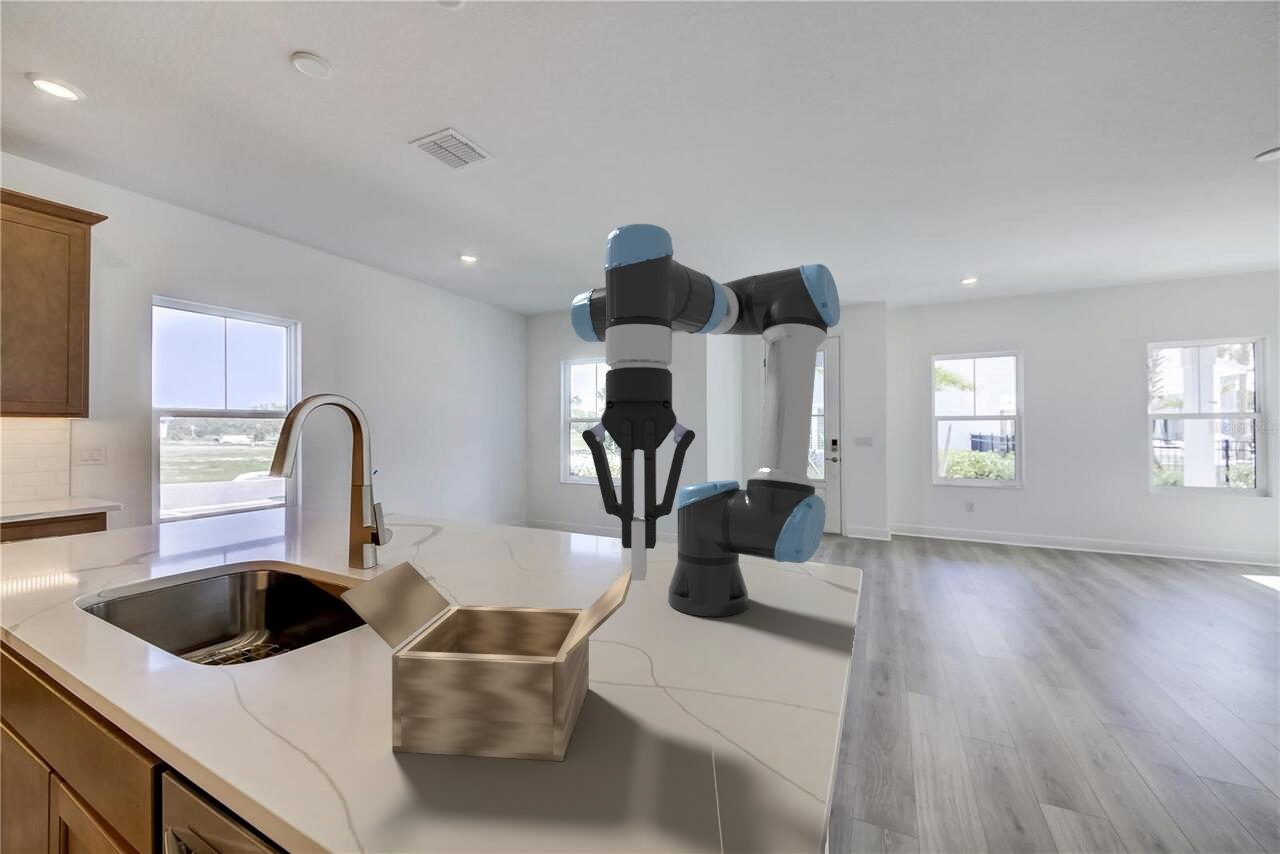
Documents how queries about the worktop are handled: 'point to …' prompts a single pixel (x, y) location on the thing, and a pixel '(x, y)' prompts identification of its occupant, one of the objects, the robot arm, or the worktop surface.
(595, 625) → the flap
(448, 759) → the worktop surface
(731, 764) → the worktop surface
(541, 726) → the carton
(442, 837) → the worktop surface
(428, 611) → the flap
